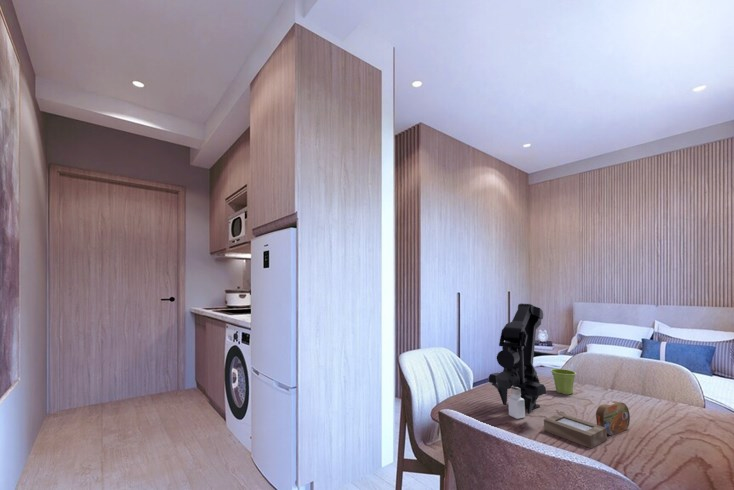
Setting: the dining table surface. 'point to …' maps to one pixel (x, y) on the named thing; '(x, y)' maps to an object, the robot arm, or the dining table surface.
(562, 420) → the white flat block
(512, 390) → the pepper shaker
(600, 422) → the tin
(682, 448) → the dining table surface
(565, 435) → the guide block
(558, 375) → the plant pot
